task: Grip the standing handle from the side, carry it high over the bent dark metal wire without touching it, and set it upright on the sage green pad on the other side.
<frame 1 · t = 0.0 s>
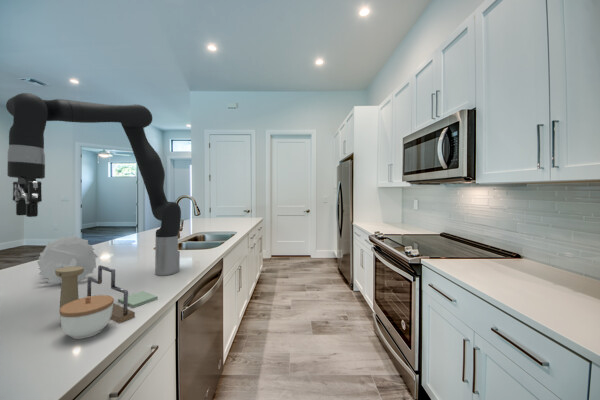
hand: (26, 215, 74), 29 cm above the counter, tool pointing down, fingers open, 8 cm apart
bent wire: (106, 310, 76), on the counter
lidded jar: (87, 333, 64), on the counter
handle: (69, 322, 69), on the counter
green pad: (138, 300, 84), on the counter
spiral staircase: (68, 279, 103), on the counter
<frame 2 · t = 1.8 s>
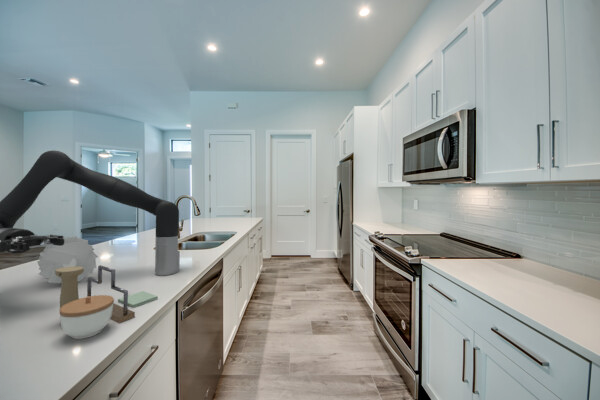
hand: (44, 244, 72), 21 cm above the counter, tool horizontal, fingers open, 8 cm apart
nothing on the counter moved.
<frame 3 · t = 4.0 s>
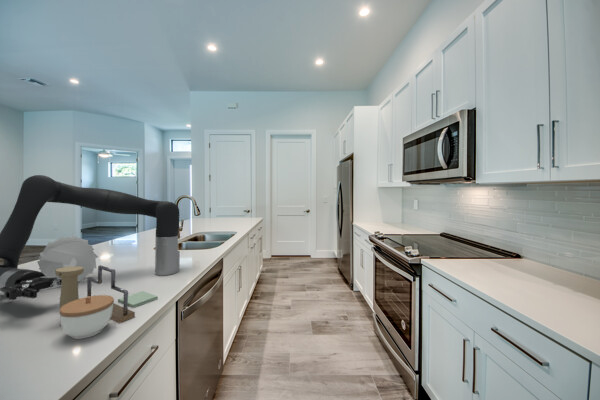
hand: (55, 288, 71), 8 cm above the counter, tool horizontal, fingers open, 8 cm apart
nothing on the counter moved.
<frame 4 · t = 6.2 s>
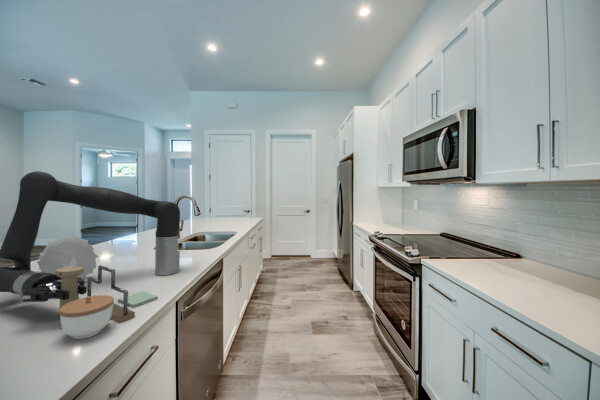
hand: (76, 293, 68), 9 cm above the counter, tool horizontal, fingers closed on handle, 3 cm apart
handle: (69, 322, 69), on the counter, touching gripper
everything else where it was.
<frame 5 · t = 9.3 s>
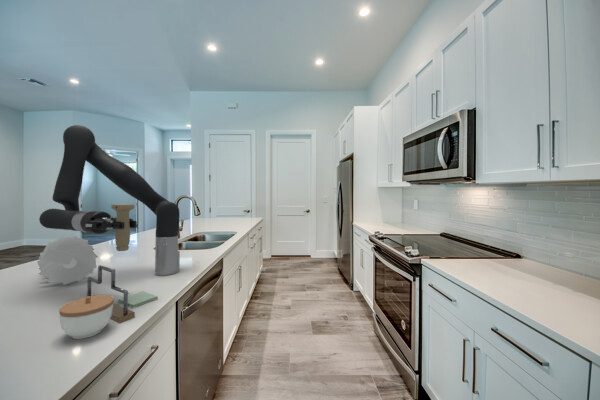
hand: (129, 224, 79), 27 cm above the counter, tool horizontal, fingers closed on handle, 3 cm apart
handle: (122, 251, 79), point 18 cm above the counter, touching gripper
everything else where it was.
when the fingers open (11 cm above the counter, at t = 12.7 s): handle drops 1 cm, resting on green pad.
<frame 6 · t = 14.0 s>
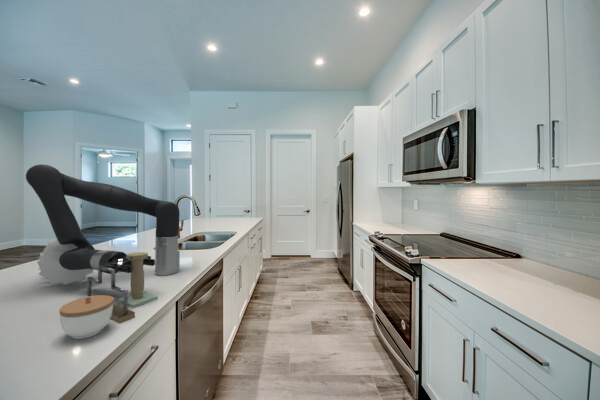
hand: (143, 265, 83), 12 cm above the counter, tool horizontal, fingers open, 8 cm apart
handle: (137, 298, 84), point 1 cm above the counter, touching green pad
everything else where it was.
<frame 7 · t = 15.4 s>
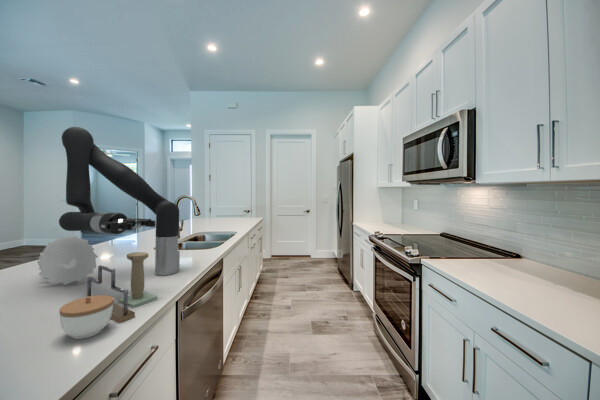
hand: (143, 225, 83), 26 cm above the counter, tool horizontal, fingers open, 8 cm apart
nothing on the counter moved.
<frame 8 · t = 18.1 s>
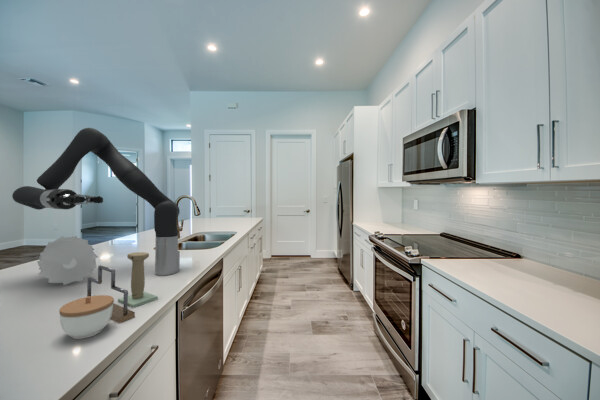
hand: (88, 200, 87), 34 cm above the counter, tool horizontal, fingers open, 8 cm apart
nothing on the counter moved.
at the end: handle 0.2 cm off-centre on the green pad, point 0.8 cm above the green pad's base; handle tilted 0°; the gripper is holding nothing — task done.
